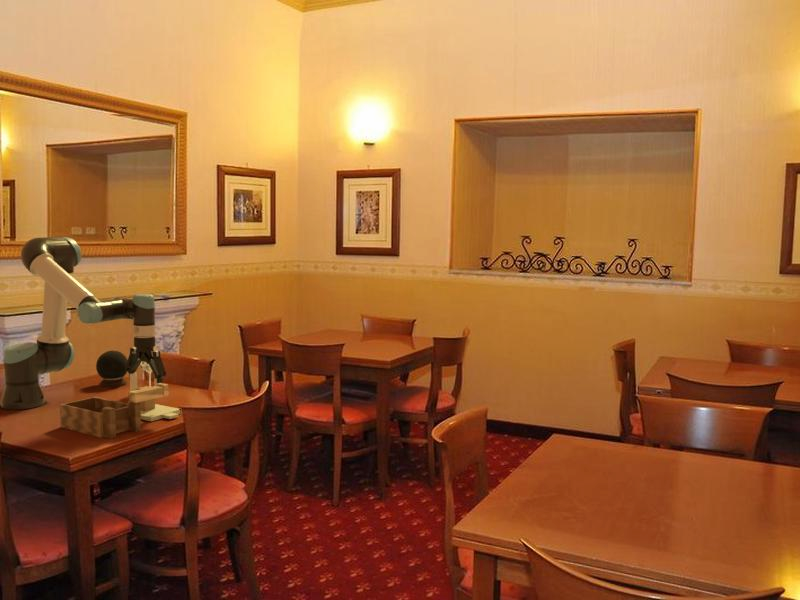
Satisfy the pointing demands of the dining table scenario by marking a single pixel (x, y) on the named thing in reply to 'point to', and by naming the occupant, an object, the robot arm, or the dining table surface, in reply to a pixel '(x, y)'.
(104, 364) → the dark ball on base
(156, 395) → the light wooden bar
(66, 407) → the wooden box
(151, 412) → the lid
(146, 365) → the wineglass
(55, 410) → the dining table surface
